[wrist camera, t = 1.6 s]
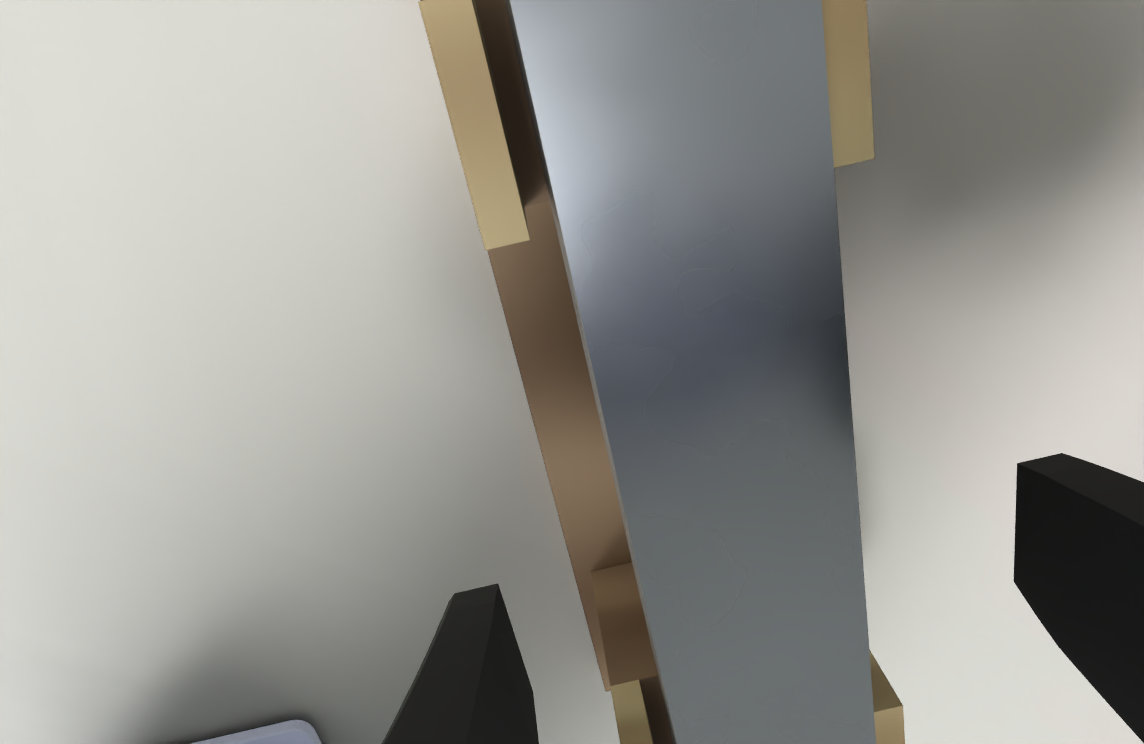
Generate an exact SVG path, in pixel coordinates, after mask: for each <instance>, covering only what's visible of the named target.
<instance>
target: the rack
mask: <svg viewBox="0 0 1144 744" xmlns="http://www.w3.org/2000/svg"><path fill="white" fill-rule="evenodd" d="M418 3H419V7H420V10H421V14H422V18H423V22H424V25H425V29H426V33H427V36H428V40H429V44H430V48H431V51H432V55H433V59H434V62H435V66H436V70H437V74H438V77H439V81H440V85H441V88H442V92H443V96H444V100H445V103H446V107H447V111H448V114H449V118H450V122H451V125H452V129H453V133H454V137H455V140H456V144H457V148H458V151H459V155H460V159H461V163H462V166H463V170H464V174H465V177H466V181H467V185H468V189H469V192H470V196H471V200H472V203H473V207H474V211H475V215H476V218H477V222H478V226H479V229H480V233H481V237H482V241H483V244H484V248H485V250H487V251H488V254H489V258H490V262H491V266H492V269H493V273H494V277H495V280H496V284H497V288H498V292H499V295H500V299H501V303H502V307H503V310H504V314H505V318H506V322H507V325H508V329H509V333H510V336H511V340H512V344H513V348H514V351H515V355H516V359H517V363H518V366H519V370H520V374H521V377H522V381H523V385H524V389H525V392H526V396H527V400H528V404H529V407H530V411H531V415H532V419H533V422H534V426H535V430H536V433H537V437H538V441H539V445H540V448H541V452H542V456H543V460H544V463H545V467H546V471H547V474H548V478H549V482H550V486H551V489H552V493H553V497H554V501H555V504H556V508H557V512H558V516H559V519H560V523H561V527H562V530H563V534H564V538H565V542H566V545H567V549H568V553H569V557H570V560H571V564H572V568H573V571H574V575H575V579H576V583H577V586H578V590H579V594H580V598H581V601H582V605H583V609H584V613H585V616H586V620H587V624H588V627H589V631H590V635H591V639H592V642H593V646H594V650H595V654H596V657H597V661H598V665H599V668H600V672H601V676H602V680H603V683H604V687H605V691H610V690H611V693H612V698H613V704H614V710H615V715H616V721H617V727H618V733H619V738H620V744H673V740H672V736H671V731H670V727H669V723H668V718H667V714H666V709H665V705H664V701H663V696H662V692H661V687H660V683H659V679H658V674H657V670H656V665H655V661H654V657H653V652H652V648H651V643H650V639H649V635H648V630H647V626H646V621H645V617H644V613H643V608H642V604H641V599H640V595H639V591H638V586H637V582H636V577H635V573H634V569H633V564H632V560H631V555H630V551H629V547H628V542H627V538H626V533H625V529H624V525H623V520H622V516H621V511H620V507H619V503H618V498H617V494H616V489H615V485H614V481H613V476H612V472H611V467H610V463H609V459H608V454H607V450H606V445H605V441H604V437H603V432H602V428H601V423H600V419H599V415H598V410H597V406H596V401H595V397H594V393H593V388H592V384H591V379H590V375H589V371H588V366H587V362H586V357H585V353H584V349H583V344H582V340H581V335H580V331H579V327H578V322H577V318H576V313H575V309H574V305H573V300H572V296H571V291H570V287H569V283H568V278H567V274H566V269H565V265H564V261H563V256H562V252H561V247H560V243H559V239H558V234H557V230H556V225H555V221H554V217H553V212H552V208H551V203H550V199H549V195H548V190H547V186H546V181H545V177H544V173H543V168H542V164H541V159H540V155H539V151H538V146H537V142H536V137H535V133H534V129H533V124H532V120H531V116H530V111H529V107H528V102H527V98H526V94H525V89H524V85H523V80H522V76H521V72H520V67H519V63H518V58H517V54H516V50H515V45H514V41H513V36H512V32H511V28H510V23H509V19H508V14H507V10H506V6H505V1H504V0H420V2H418ZM822 14H823V27H824V41H825V54H826V68H827V82H828V95H829V109H830V122H831V136H832V150H833V163H834V168H837V167H841V166H845V165H849V164H854V163H858V162H862V161H866V160H871V159H875V158H874V138H873V119H872V100H871V80H870V61H869V42H868V22H867V3H866V0H822ZM869 652H870V666H871V680H872V693H873V707H874V720H875V734H876V744H905V736H904V717H903V705H902V703H901V702H900V700H899V698H898V697H897V695H896V693H895V692H894V690H893V688H892V687H891V685H890V683H889V682H888V680H887V678H886V676H885V675H884V673H883V671H882V670H881V668H880V666H879V665H878V663H877V661H876V660H875V658H874V656H873V655H872V653H871V651H870V650H869Z"/></svg>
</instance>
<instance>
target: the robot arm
mask: <svg viewBox="0 0 1144 744" xmlns="http://www.w3.org/2000/svg"><path fill="white" fill-rule="evenodd" d="M1014 583H1015V584H1016V586H1017V587H1018V589H1019V590H1020V592H1021V593H1022V595H1023V596H1024V598H1025V599H1026V601H1027V602H1028V604H1029V605H1030V607H1031V608H1032V610H1033V611H1034V613H1035V614H1036V616H1037V617H1038V619H1039V620H1040V621H1041V623H1042V624H1043V626H1044V627H1045V628H1046V630H1047V631H1048V633H1049V634H1050V635H1051V637H1052V638H1053V640H1054V641H1055V642H1056V644H1057V645H1058V647H1059V648H1060V649H1061V650H1062V651H1063V653H1064V654H1065V655H1066V656H1067V657H1068V658H1069V659H1070V661H1071V662H1072V663H1073V664H1074V665H1075V666H1076V668H1077V669H1078V670H1079V671H1080V672H1081V673H1082V674H1083V675H1084V677H1085V678H1086V679H1087V680H1088V681H1089V682H1090V683H1091V685H1092V686H1093V687H1094V688H1095V689H1096V690H1097V691H1098V693H1099V694H1100V695H1101V696H1102V697H1103V698H1104V699H1105V700H1106V702H1107V703H1108V704H1109V705H1110V706H1111V707H1112V708H1113V709H1114V710H1115V712H1116V713H1117V714H1118V715H1119V716H1120V717H1121V718H1122V719H1123V720H1124V722H1125V723H1126V724H1127V725H1128V726H1129V727H1130V728H1131V729H1132V731H1133V732H1134V733H1135V734H1136V735H1137V736H1138V737H1139V738H1140V739H1141V741H1142V742H1143V743H1144V482H1141V481H1139V480H1136V479H1133V478H1131V477H1128V476H1126V475H1123V474H1120V473H1118V472H1115V471H1112V470H1110V469H1107V468H1104V467H1101V466H1099V465H1096V464H1093V463H1090V462H1087V461H1084V460H1082V459H1079V458H1075V457H1072V456H1069V455H1066V454H1063V453H1060V454H1056V455H1052V456H1047V457H1043V458H1039V459H1034V460H1030V461H1026V462H1021V463H1017V490H1016V523H1015V557H1014ZM191 744H322V743H321V741H320V739H319V737H318V735H317V733H316V731H315V729H314V728H313V727H312V725H311V724H309V723H307V722H305V721H302V720H290V721H286V722H281V723H277V724H273V725H268V726H264V727H260V728H255V729H251V730H247V731H243V732H238V733H234V734H230V735H225V736H221V737H217V738H213V739H208V740H204V741H200V742H195V743H191ZM382 744H539V742H538V732H537V723H536V714H535V705H534V697H533V691H532V687H531V684H530V681H529V678H528V675H527V672H526V669H525V666H524V663H523V660H522V656H521V653H520V650H519V647H518V644H517V641H516V638H515V635H514V632H513V628H512V625H511V622H510V619H509V616H508V613H507V610H506V607H505V604H504V601H503V597H502V594H501V591H500V588H499V585H498V584H494V585H490V586H485V587H481V588H477V589H472V590H468V591H464V592H459V593H455V594H454V595H453V597H452V598H451V600H450V601H449V603H448V605H447V607H446V610H445V612H444V615H443V617H442V619H441V622H440V624H439V626H438V629H437V631H436V633H435V636H434V638H433V640H432V643H431V645H430V647H429V649H428V652H427V654H426V656H425V658H424V660H423V662H422V665H421V667H420V669H419V671H418V673H417V675H416V678H415V680H414V682H413V684H412V686H411V688H410V690H409V692H408V694H407V696H406V698H405V700H404V702H403V704H402V706H401V708H400V710H399V712H398V714H397V716H396V718H395V720H394V722H393V724H392V726H391V727H390V729H389V731H388V733H387V735H386V737H385V739H384V740H383V742H382Z"/></svg>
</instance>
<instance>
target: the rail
mask: <svg viewBox="0 0 1144 744" xmlns="http://www.w3.org/2000/svg"><path fill="white" fill-rule="evenodd" d="M504 1H505V6H506V10H507V14H508V19H509V23H510V28H511V32H512V36H513V41H514V45H515V50H516V54H517V58H518V63H519V67H520V72H521V76H522V80H523V85H524V89H525V94H526V98H527V102H528V107H529V111H530V116H531V120H532V124H533V129H534V133H535V137H536V142H537V146H538V151H539V155H540V159H541V164H542V168H543V173H544V177H545V181H546V186H547V190H548V195H549V199H550V203H551V208H552V212H553V217H554V221H555V225H556V230H557V234H558V239H559V243H560V247H561V252H562V256H563V261H564V265H565V269H566V274H567V278H568V283H569V287H570V291H571V296H572V300H573V305H574V309H575V313H576V318H577V322H578V327H579V331H580V335H581V340H582V344H583V349H584V353H585V357H586V362H587V366H588V371H589V375H590V379H591V384H592V388H593V393H594V397H595V401H596V406H597V410H598V415H599V419H600V423H601V428H602V432H603V437H604V441H605V445H606V450H607V454H608V459H609V463H610V467H611V472H612V476H613V481H614V485H615V489H616V494H617V498H618V503H619V507H620V511H621V516H622V520H623V525H624V529H625V533H626V538H627V542H628V547H629V551H630V555H631V560H632V564H633V569H634V573H635V577H636V582H637V586H638V591H639V595H640V599H641V604H642V608H643V613H644V617H645V621H646V626H647V630H648V635H649V639H650V643H651V648H652V652H653V657H654V661H655V665H656V670H657V674H658V679H659V683H660V687H661V692H662V696H663V701H664V705H665V709H666V714H667V718H668V723H669V727H670V731H671V736H672V740H673V744H876V734H875V720H874V707H873V693H872V680H871V666H870V652H869V639H868V625H867V612H866V598H865V585H864V571H863V557H862V544H861V530H860V517H859V503H858V489H857V476H856V462H855V449H854V435H853V421H852V408H851V394H850V381H849V367H848V353H847V340H846V326H845V313H844V299H843V285H842V272H841V258H840V245H839V231H838V217H837V204H836V190H835V177H834V163H833V150H832V136H831V122H830V109H829V95H828V82H827V68H826V54H825V41H824V27H823V14H822V0H504Z"/></svg>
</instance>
